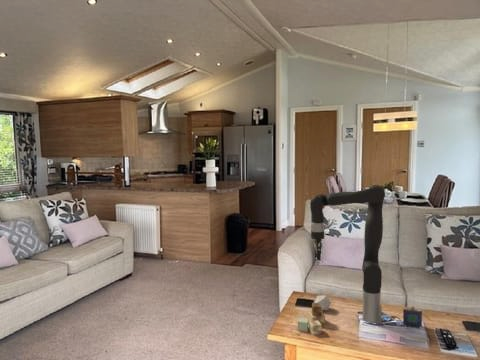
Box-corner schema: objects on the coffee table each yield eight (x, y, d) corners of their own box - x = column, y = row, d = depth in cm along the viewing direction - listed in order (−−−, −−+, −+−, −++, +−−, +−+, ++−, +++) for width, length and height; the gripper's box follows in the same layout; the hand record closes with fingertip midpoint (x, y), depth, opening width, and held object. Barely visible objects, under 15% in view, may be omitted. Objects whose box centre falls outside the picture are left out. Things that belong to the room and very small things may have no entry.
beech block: (318, 329, 194) (317, 320, 193) (321, 334, 189) (321, 324, 188) (309, 330, 193) (308, 321, 192) (312, 335, 188) (312, 325, 188)
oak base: (321, 319, 205) (321, 310, 205) (325, 325, 198) (325, 316, 198) (309, 320, 205) (309, 311, 204) (312, 326, 198) (312, 317, 197)
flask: (421, 325, 195) (421, 306, 194) (422, 328, 192) (422, 308, 191) (402, 323, 197) (402, 304, 196) (403, 326, 194) (403, 306, 193)
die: (327, 315, 211) (334, 299, 213) (313, 307, 212) (321, 291, 214) (324, 314, 219) (331, 298, 221) (310, 306, 220) (318, 291, 222)
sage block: (308, 327, 196) (308, 318, 196) (307, 331, 191) (307, 322, 191) (299, 326, 198) (299, 317, 197) (297, 330, 193) (297, 321, 192)
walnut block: (321, 311, 203) (321, 303, 203) (321, 315, 198) (321, 307, 198) (312, 311, 204) (312, 302, 204) (312, 315, 199) (312, 306, 199)
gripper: (325, 232, 200) (326, 261, 202) (322, 227, 214) (323, 254, 216) (312, 233, 201) (312, 261, 203) (309, 227, 215) (310, 254, 217)
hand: (317, 257), depth 209 cm, fingers open, 8 cm apart
